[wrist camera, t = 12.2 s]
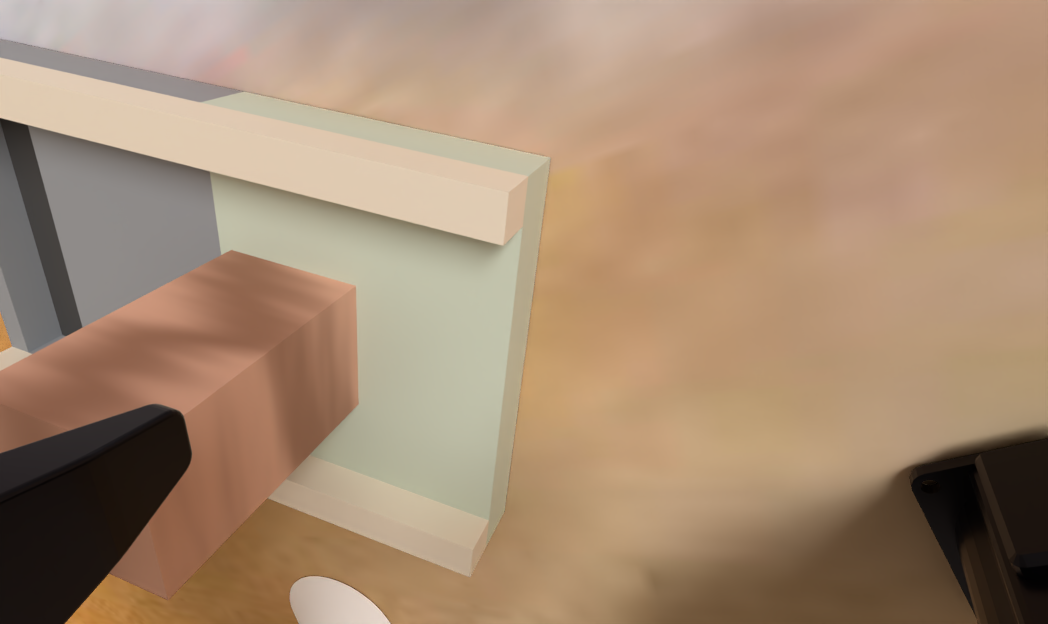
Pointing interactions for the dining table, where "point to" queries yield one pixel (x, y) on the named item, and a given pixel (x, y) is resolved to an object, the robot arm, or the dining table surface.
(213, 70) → the dining table surface
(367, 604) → the champagne flute
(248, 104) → the trap board
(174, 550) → the terracotta block
